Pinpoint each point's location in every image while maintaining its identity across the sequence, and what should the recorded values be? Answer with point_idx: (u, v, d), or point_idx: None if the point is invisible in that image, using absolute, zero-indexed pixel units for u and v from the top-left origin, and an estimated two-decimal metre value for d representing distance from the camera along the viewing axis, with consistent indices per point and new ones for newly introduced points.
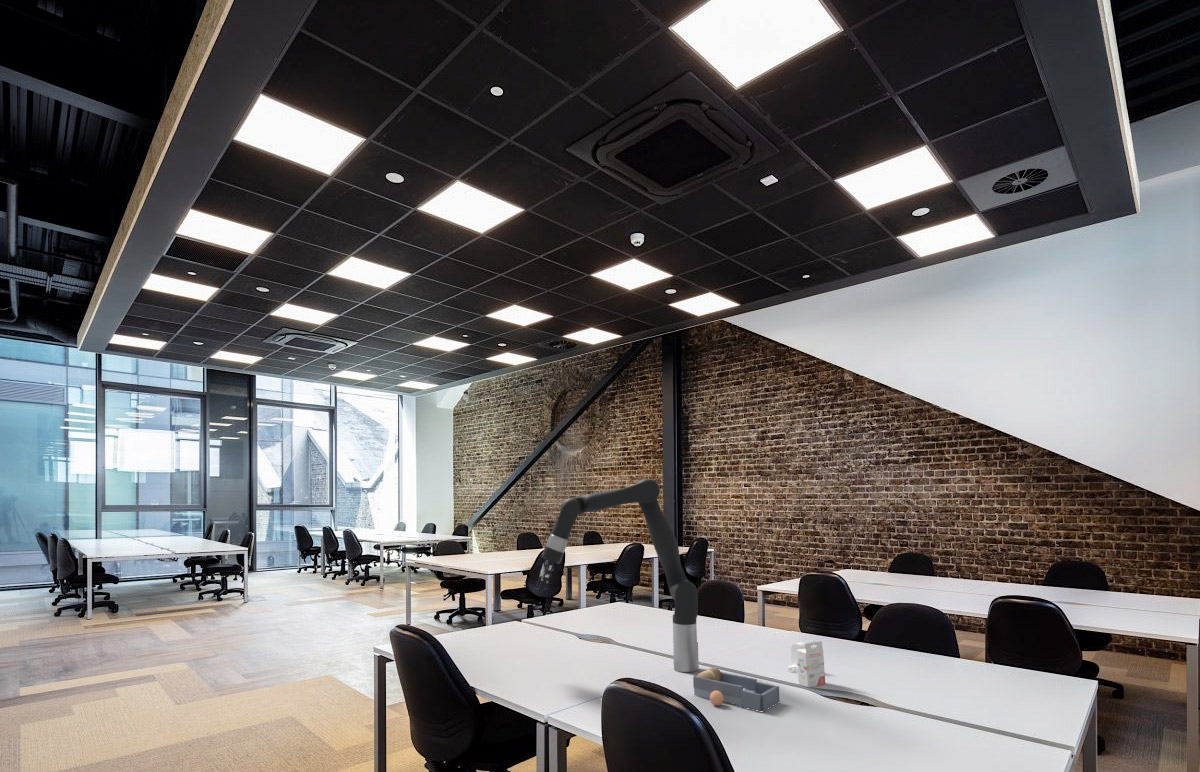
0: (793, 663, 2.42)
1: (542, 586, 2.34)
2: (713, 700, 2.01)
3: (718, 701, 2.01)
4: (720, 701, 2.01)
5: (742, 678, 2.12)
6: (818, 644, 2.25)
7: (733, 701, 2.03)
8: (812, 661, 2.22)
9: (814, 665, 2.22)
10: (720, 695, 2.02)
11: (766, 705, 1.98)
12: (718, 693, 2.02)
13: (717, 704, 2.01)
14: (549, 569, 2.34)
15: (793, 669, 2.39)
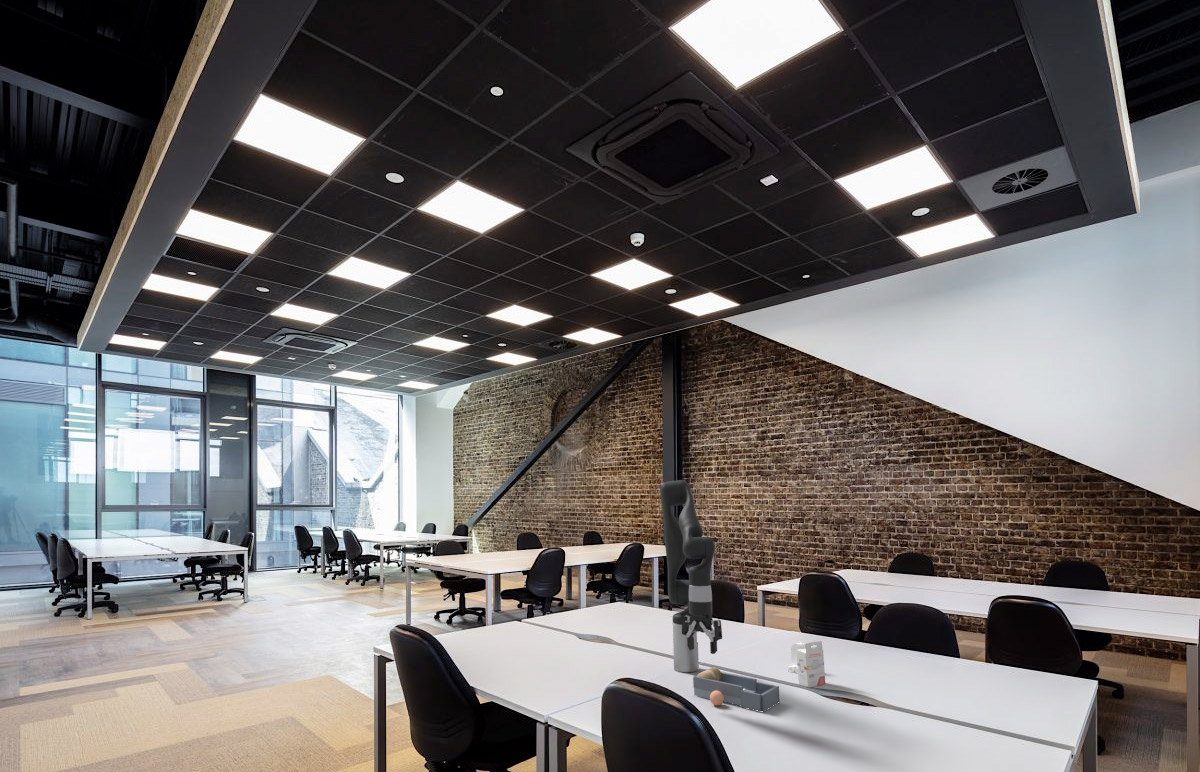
0: (793, 663, 2.42)
1: (715, 647, 2.01)
2: (713, 700, 2.01)
3: (718, 701, 2.01)
4: (720, 701, 2.01)
5: (742, 678, 2.12)
6: (818, 644, 2.25)
7: (733, 701, 2.03)
8: (812, 661, 2.22)
9: (814, 665, 2.22)
10: (720, 695, 2.02)
11: (766, 705, 1.98)
12: (718, 693, 2.02)
13: (717, 704, 2.01)
14: (718, 625, 2.01)
15: (793, 669, 2.39)
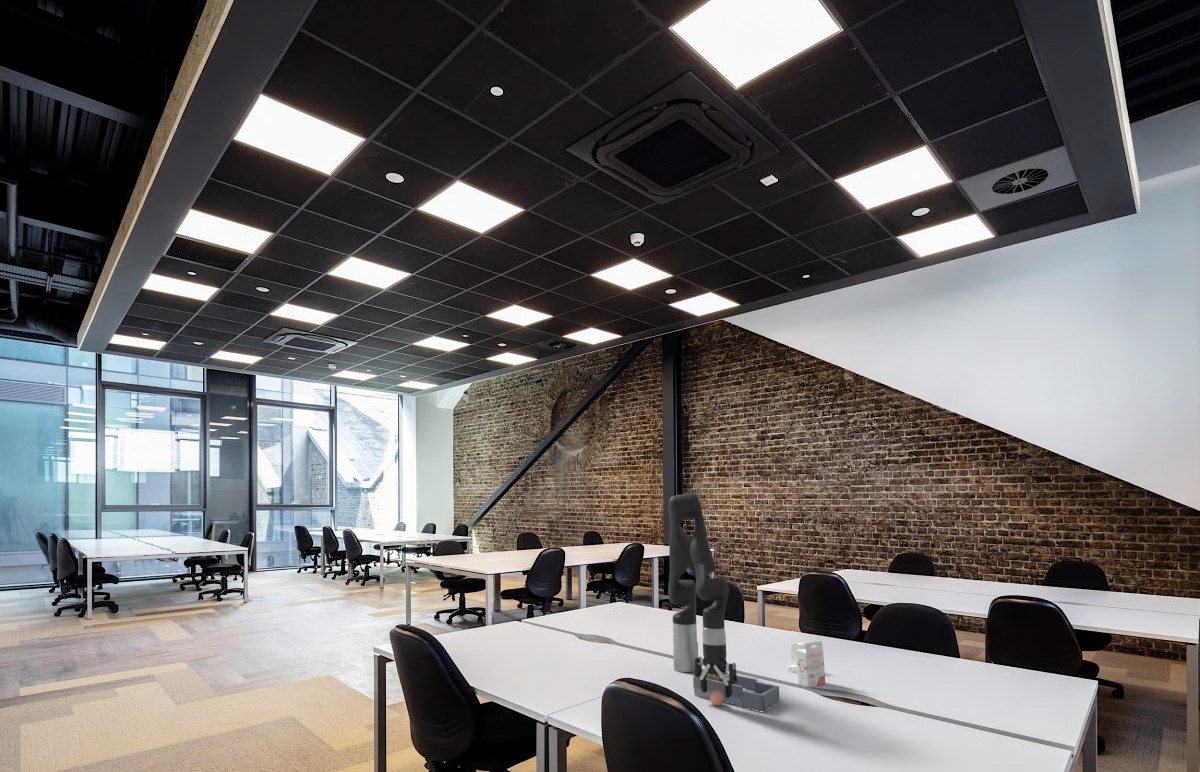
0: (793, 663, 2.42)
1: (730, 691, 2.00)
2: (713, 700, 2.01)
3: (718, 701, 2.01)
4: (720, 701, 2.01)
5: (742, 678, 2.12)
6: (818, 644, 2.25)
7: (733, 701, 2.03)
8: (812, 661, 2.22)
9: (814, 665, 2.22)
10: (720, 695, 2.02)
11: (766, 705, 1.98)
12: (718, 693, 2.02)
13: (717, 704, 2.01)
14: (733, 669, 2.00)
15: (793, 669, 2.39)
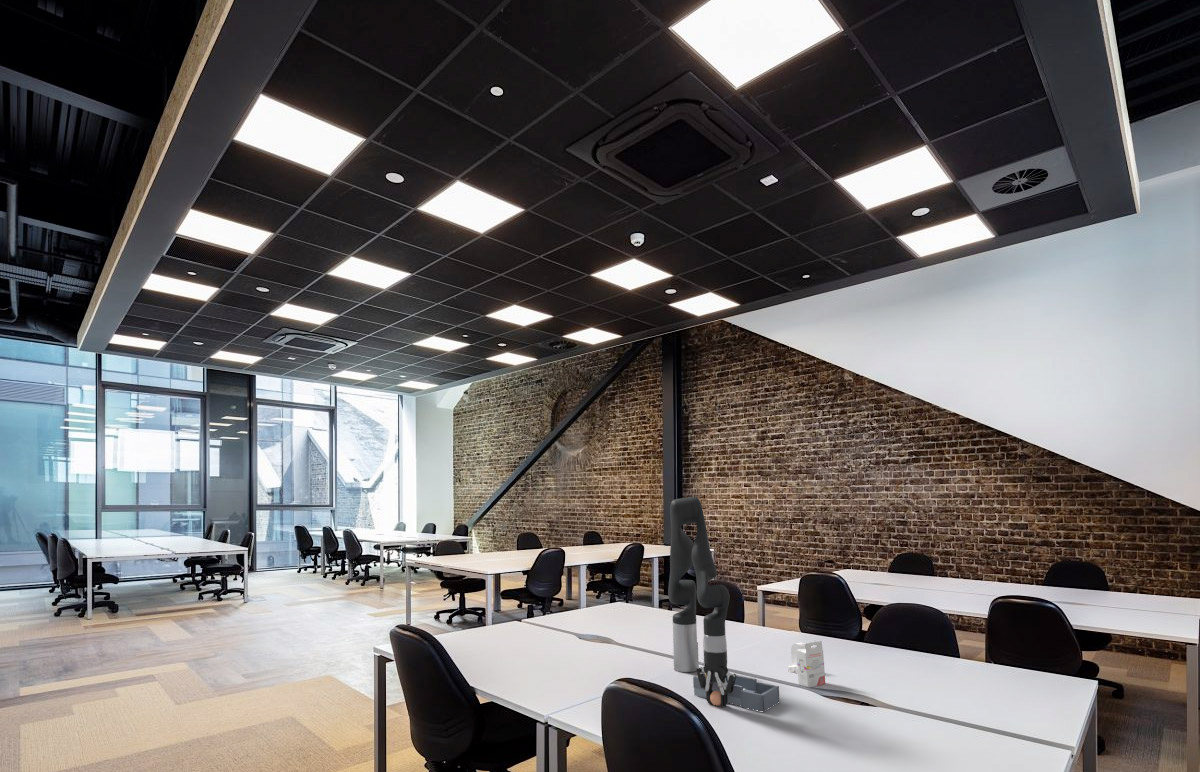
0: (793, 663, 2.42)
1: (726, 700, 2.01)
2: (713, 700, 2.01)
3: (718, 701, 2.01)
4: (720, 701, 2.01)
5: (742, 678, 2.12)
6: (818, 644, 2.25)
7: (733, 701, 2.03)
8: (812, 660, 2.22)
9: (814, 665, 2.22)
10: (720, 695, 2.02)
11: (766, 705, 1.98)
12: (718, 693, 2.02)
13: (717, 704, 2.01)
14: (733, 680, 2.00)
15: (793, 669, 2.39)
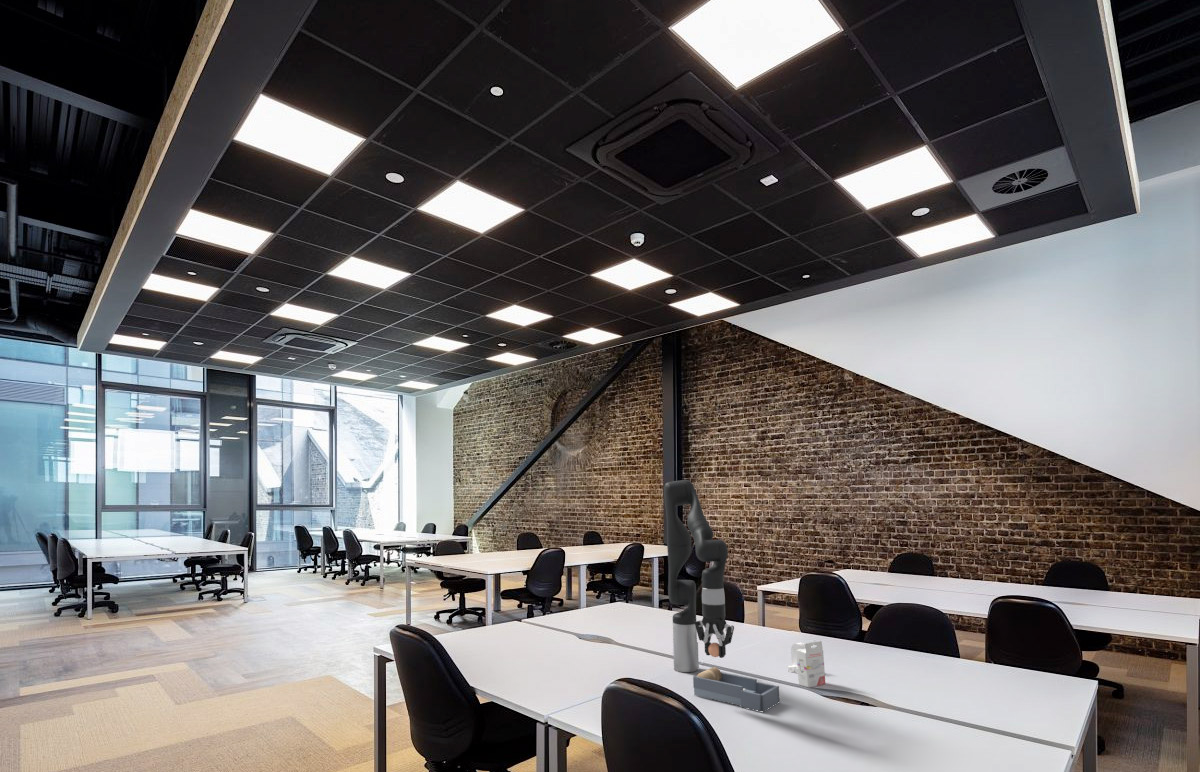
0: (793, 663, 2.42)
1: (724, 651, 2.04)
2: (711, 652, 2.05)
3: (716, 652, 2.04)
4: (718, 652, 2.04)
5: (742, 678, 2.12)
6: (818, 644, 2.25)
7: (733, 701, 2.03)
8: (812, 660, 2.22)
9: (814, 665, 2.22)
10: (718, 647, 2.05)
11: (766, 705, 1.98)
12: (716, 645, 2.05)
13: (715, 655, 2.05)
14: (731, 632, 2.03)
15: (793, 669, 2.39)
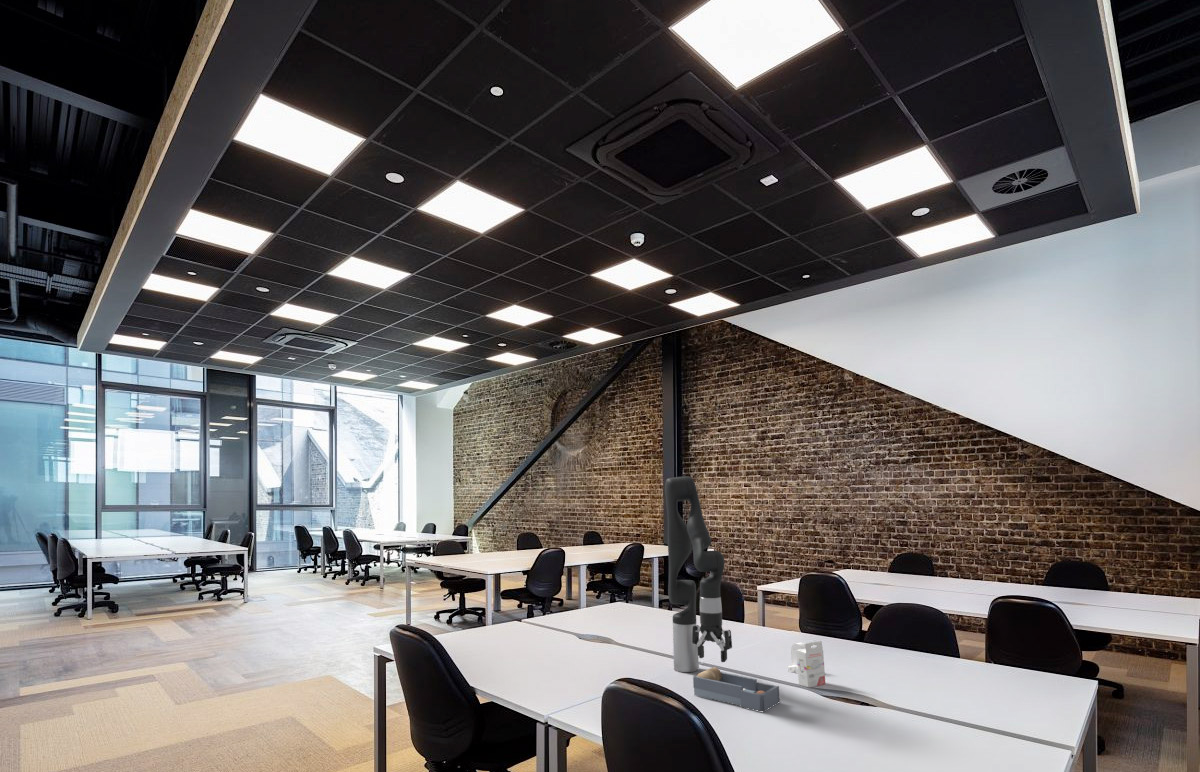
0: (793, 663, 2.42)
1: (725, 655, 2.12)
2: None
3: None
4: None
5: (742, 678, 2.12)
6: (818, 644, 2.25)
7: (733, 701, 2.03)
8: (812, 661, 2.22)
9: (814, 665, 2.22)
10: None
11: (766, 705, 1.98)
12: None
13: None
14: (729, 635, 2.12)
15: (793, 669, 2.39)
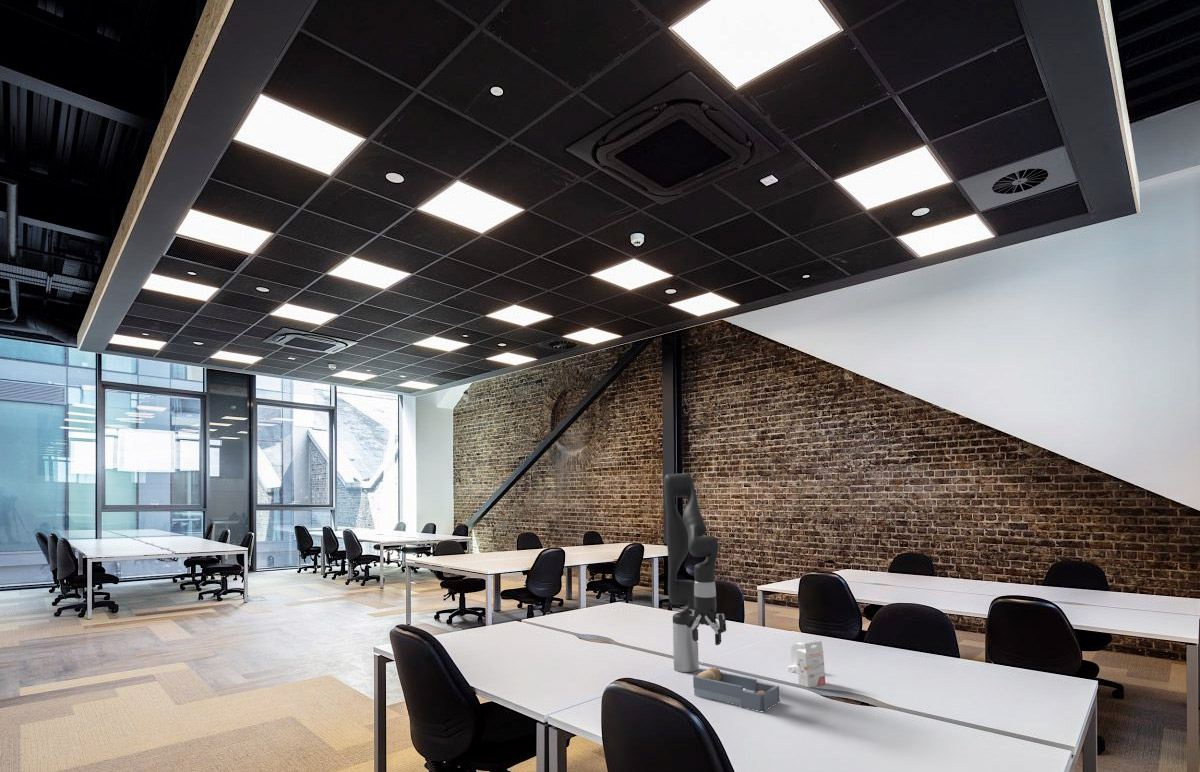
0: (793, 663, 2.42)
1: (720, 639, 2.15)
2: None
3: None
4: None
5: (742, 678, 2.12)
6: (818, 644, 2.25)
7: (733, 701, 2.03)
8: (812, 661, 2.22)
9: (814, 665, 2.22)
10: None
11: (766, 705, 1.98)
12: None
13: None
14: (723, 619, 2.15)
15: (793, 669, 2.39)
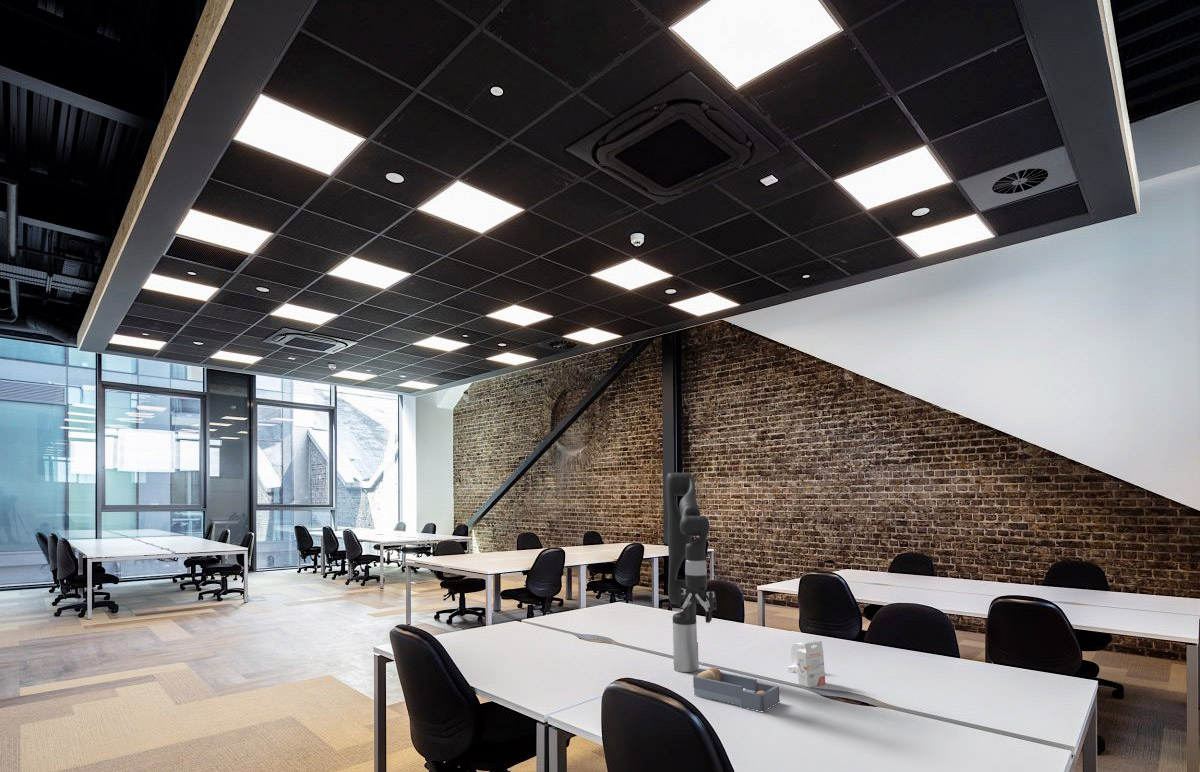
0: (793, 663, 2.42)
1: (710, 616, 2.18)
2: None
3: None
4: None
5: (742, 678, 2.12)
6: (818, 644, 2.25)
7: (733, 701, 2.03)
8: (812, 660, 2.22)
9: (814, 665, 2.22)
10: None
11: (766, 705, 1.98)
12: None
13: None
14: (713, 597, 2.18)
15: (793, 669, 2.39)
